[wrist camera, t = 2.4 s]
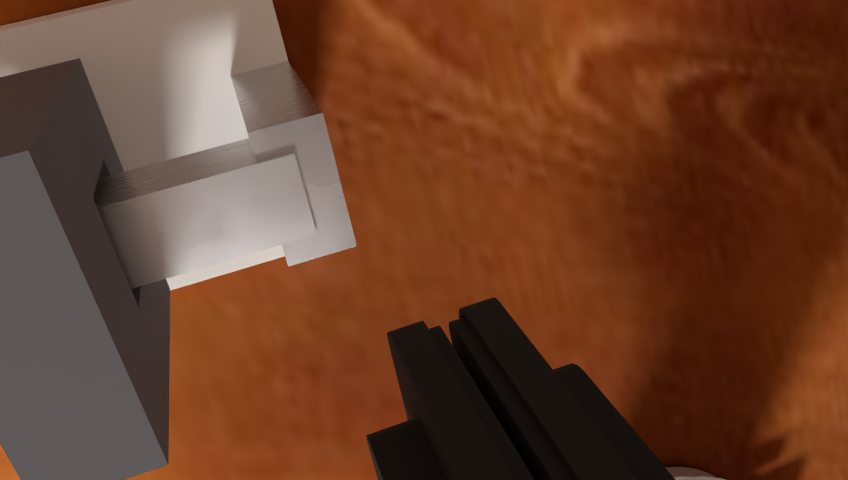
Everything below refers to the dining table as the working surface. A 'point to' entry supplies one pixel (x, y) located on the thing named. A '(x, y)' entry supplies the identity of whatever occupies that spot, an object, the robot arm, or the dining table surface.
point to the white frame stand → (234, 190)
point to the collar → (72, 296)
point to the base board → (159, 76)
